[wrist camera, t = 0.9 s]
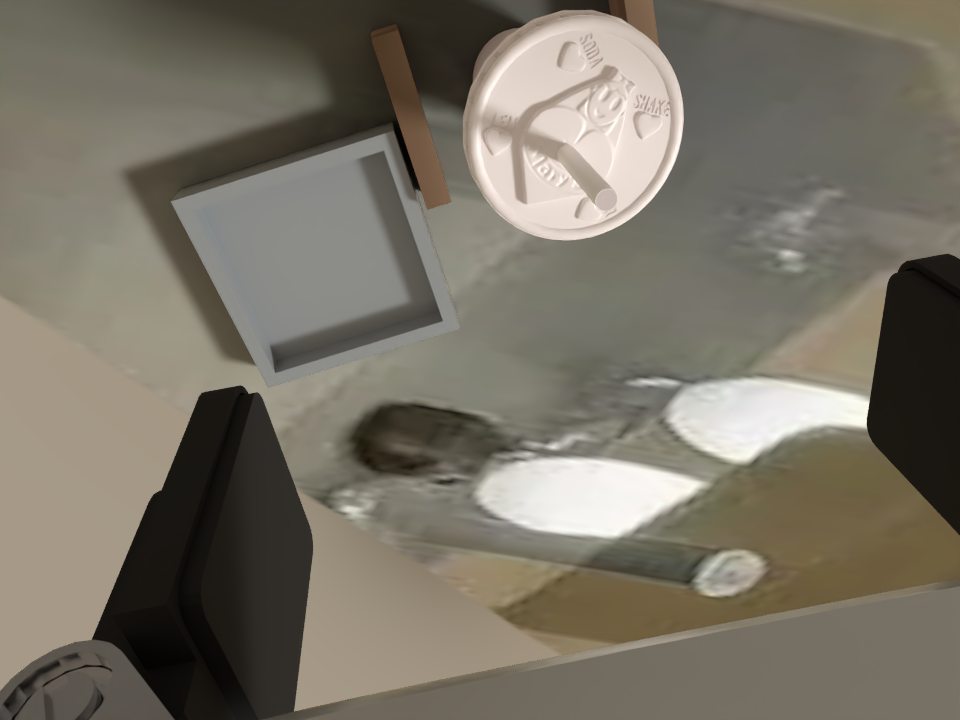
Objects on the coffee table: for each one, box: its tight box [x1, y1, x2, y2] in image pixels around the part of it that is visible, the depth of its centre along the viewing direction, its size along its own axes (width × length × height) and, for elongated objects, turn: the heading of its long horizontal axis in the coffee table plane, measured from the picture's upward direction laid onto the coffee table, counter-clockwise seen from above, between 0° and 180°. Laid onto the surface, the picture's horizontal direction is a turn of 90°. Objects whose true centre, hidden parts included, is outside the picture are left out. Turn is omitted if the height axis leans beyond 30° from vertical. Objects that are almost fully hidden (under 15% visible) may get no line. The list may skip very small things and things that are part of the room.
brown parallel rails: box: [371, 0, 659, 210], centre depth 28 cm, size 10×6×2 cm, turn 105°
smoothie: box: [463, 10, 684, 240], centre depth 23 cm, size 6×6×14 cm
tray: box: [171, 121, 460, 388], centre depth 31 cm, size 9×9×2 cm
